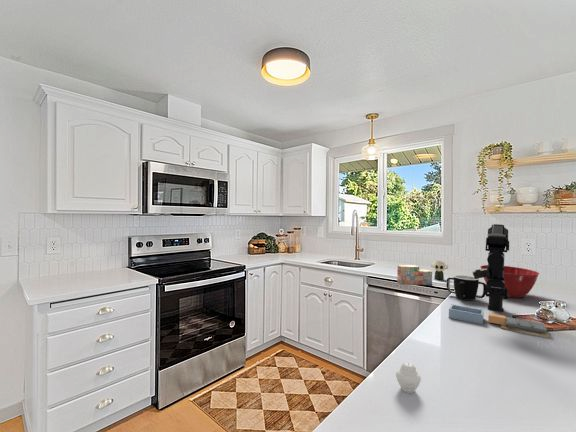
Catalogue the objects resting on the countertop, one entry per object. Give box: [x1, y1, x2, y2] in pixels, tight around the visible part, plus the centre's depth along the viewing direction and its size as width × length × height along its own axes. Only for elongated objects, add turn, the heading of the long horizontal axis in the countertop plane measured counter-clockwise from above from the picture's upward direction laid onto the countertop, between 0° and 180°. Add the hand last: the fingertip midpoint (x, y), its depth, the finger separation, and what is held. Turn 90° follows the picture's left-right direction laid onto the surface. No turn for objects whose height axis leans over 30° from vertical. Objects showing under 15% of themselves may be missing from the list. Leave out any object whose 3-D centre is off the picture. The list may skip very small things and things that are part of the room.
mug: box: [446, 274, 486, 301], centre depth 168 cm, size 16×16×12 cm
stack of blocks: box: [396, 264, 433, 286], centre depth 202 cm, size 21×6×12 cm, turn 93°
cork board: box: [500, 323, 550, 339], centre depth 124 cm, size 11×15×1 cm
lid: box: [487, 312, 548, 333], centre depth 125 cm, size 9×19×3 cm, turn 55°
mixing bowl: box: [479, 264, 540, 299], centre depth 179 cm, size 28×28×15 cm
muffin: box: [395, 362, 422, 394], centre depth 79 cm, size 6×6×7 cm
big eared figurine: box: [430, 260, 449, 280], centre depth 218 cm, size 11×7×13 cm, turn 59°
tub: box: [448, 304, 485, 325], centre depth 135 cm, size 9×13×4 cm
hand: (494, 300), depth 129 cm, fingers open, 9 cm apart
